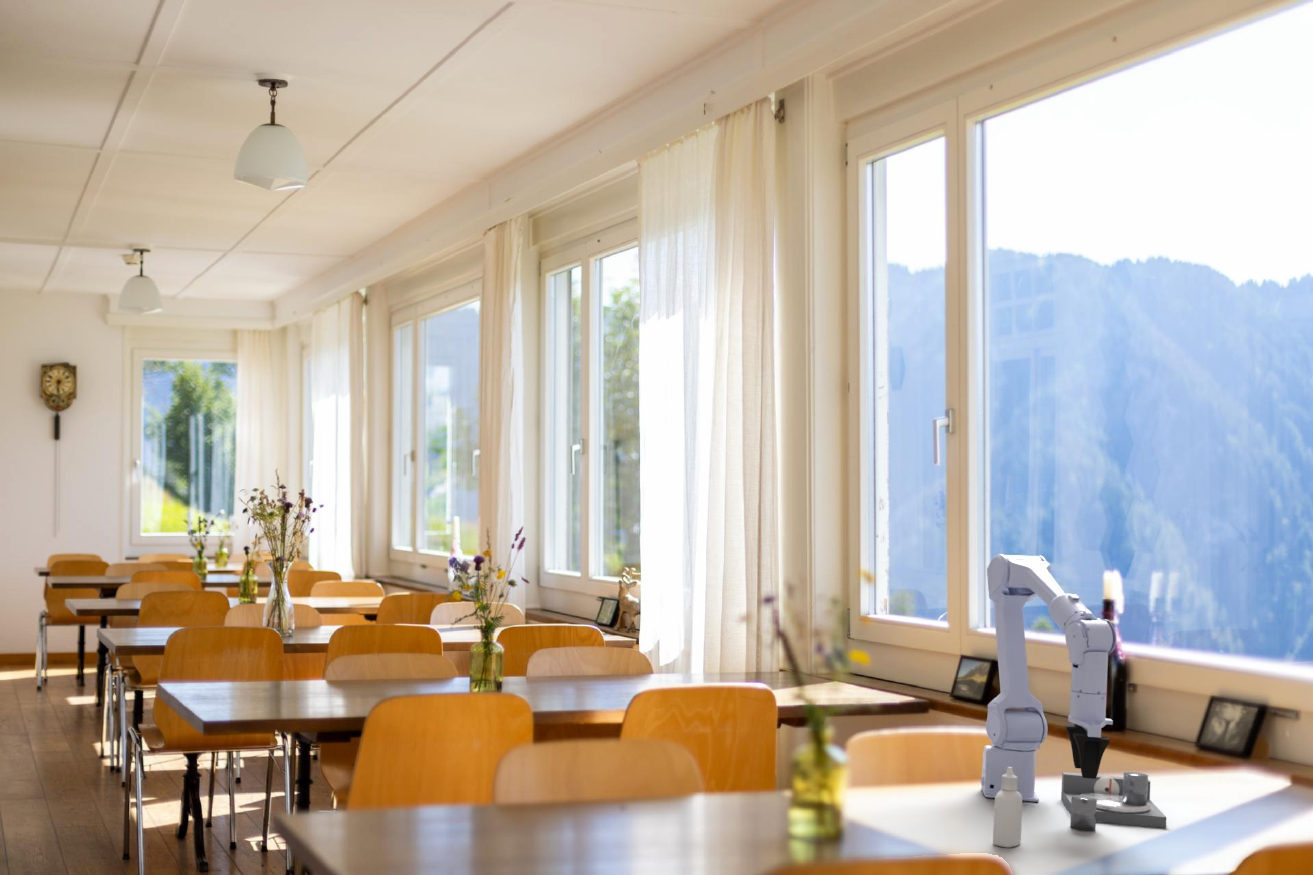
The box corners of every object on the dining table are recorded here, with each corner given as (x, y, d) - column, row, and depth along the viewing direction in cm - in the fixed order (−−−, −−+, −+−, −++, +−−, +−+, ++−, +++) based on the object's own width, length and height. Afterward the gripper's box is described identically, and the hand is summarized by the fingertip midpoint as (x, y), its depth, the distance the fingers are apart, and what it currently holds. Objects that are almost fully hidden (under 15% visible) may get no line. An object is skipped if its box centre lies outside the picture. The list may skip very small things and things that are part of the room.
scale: (1074, 819, 224) (1075, 789, 224) (1061, 799, 239) (1062, 770, 239) (1166, 827, 222) (1167, 796, 222) (1146, 806, 237) (1148, 777, 237)
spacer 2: (1125, 804, 227) (1126, 775, 227) (1120, 799, 231) (1121, 770, 231) (1149, 806, 226) (1150, 777, 226) (1143, 801, 230) (1144, 772, 230)
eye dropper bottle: (983, 840, 207) (986, 764, 207) (1013, 839, 209) (1017, 763, 209) (999, 848, 203) (1002, 770, 203) (1030, 846, 205) (1033, 769, 205)
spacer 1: (1072, 830, 217) (1073, 799, 217) (1068, 824, 221) (1069, 794, 221) (1097, 832, 216) (1098, 802, 216) (1093, 826, 220) (1094, 796, 220)
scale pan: (1083, 809, 224) (1084, 805, 224) (1072, 793, 236) (1072, 790, 236) (1157, 816, 222) (1157, 812, 222) (1142, 799, 234) (1142, 796, 234)
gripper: (1121, 699, 212) (1118, 784, 211) (1105, 686, 226) (1102, 766, 225) (1076, 696, 213) (1073, 780, 212) (1063, 683, 227) (1059, 762, 227)
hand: (1085, 772), depth 219 cm, fingers open, 7 cm apart
